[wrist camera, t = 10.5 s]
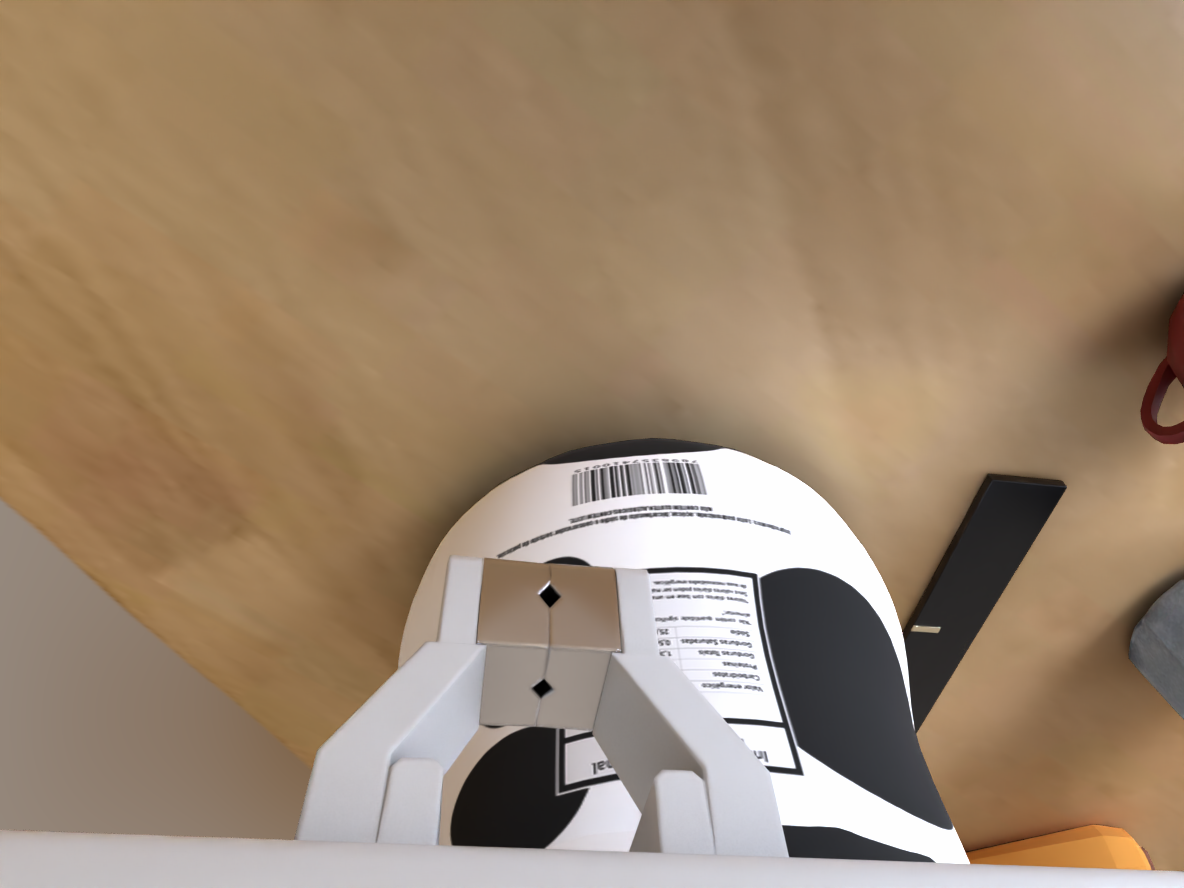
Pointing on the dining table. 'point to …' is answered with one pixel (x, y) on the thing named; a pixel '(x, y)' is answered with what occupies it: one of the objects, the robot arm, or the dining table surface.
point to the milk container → (706, 652)
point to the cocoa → (1166, 381)
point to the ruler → (973, 580)
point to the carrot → (1070, 850)
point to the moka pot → (1162, 646)
